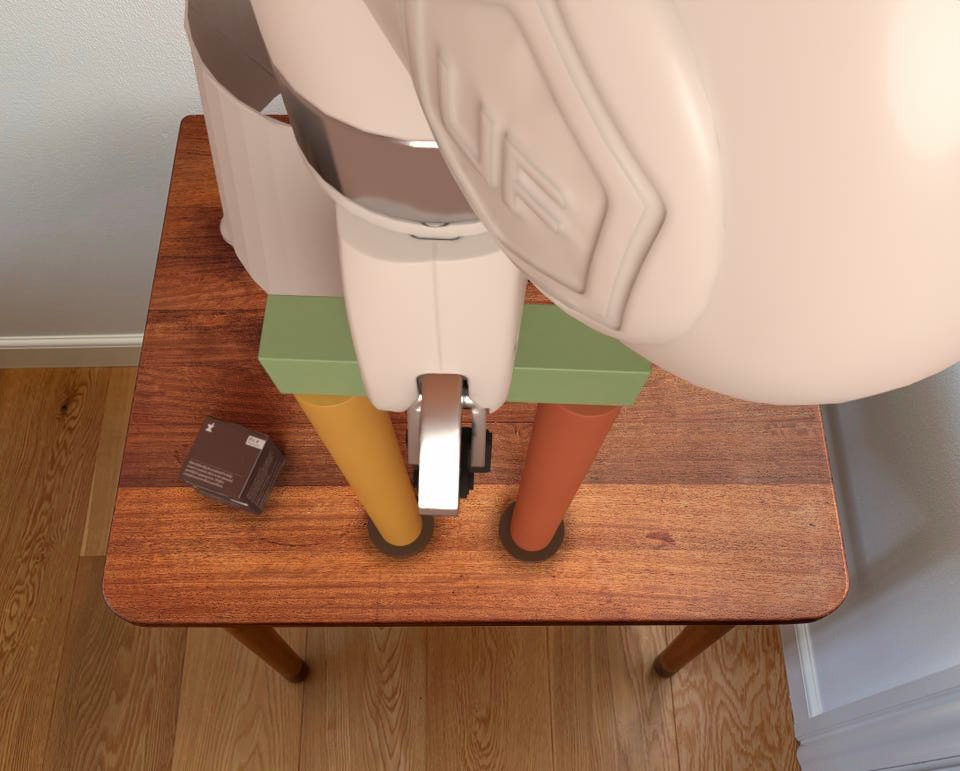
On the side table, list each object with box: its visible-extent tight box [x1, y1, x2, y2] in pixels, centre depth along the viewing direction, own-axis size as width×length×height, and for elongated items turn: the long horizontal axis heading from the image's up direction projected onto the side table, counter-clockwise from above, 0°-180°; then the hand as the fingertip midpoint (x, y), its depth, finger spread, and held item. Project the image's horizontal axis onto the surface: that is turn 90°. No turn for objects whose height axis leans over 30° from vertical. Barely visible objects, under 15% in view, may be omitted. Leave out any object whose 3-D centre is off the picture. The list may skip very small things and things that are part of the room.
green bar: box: [257, 294, 652, 407], centre depth 33 cm, size 3×16×4 cm, turn 88°
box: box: [176, 414, 287, 517], centre depth 69 cm, size 6×6×7 cm
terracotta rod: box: [498, 403, 623, 565], centre depth 53 cm, size 6×6×38 cm
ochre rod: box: [292, 394, 435, 559], centre depth 53 cm, size 6×6×38 cm
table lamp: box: [183, 0, 530, 297], centre depth 60 cm, size 25×25×40 cm
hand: (457, 358), depth 34 cm, fingers open, 9 cm apart
